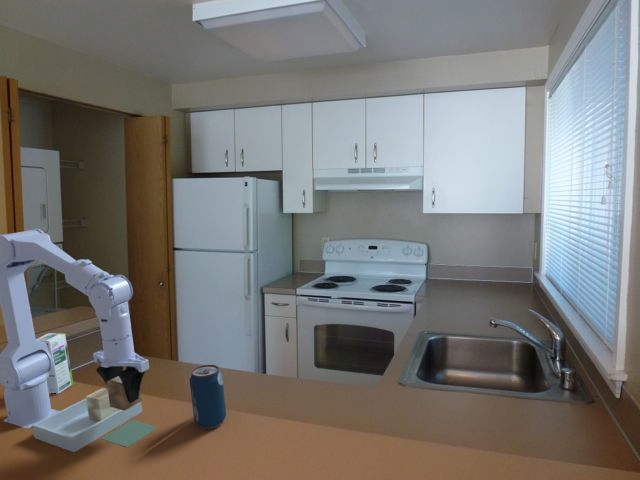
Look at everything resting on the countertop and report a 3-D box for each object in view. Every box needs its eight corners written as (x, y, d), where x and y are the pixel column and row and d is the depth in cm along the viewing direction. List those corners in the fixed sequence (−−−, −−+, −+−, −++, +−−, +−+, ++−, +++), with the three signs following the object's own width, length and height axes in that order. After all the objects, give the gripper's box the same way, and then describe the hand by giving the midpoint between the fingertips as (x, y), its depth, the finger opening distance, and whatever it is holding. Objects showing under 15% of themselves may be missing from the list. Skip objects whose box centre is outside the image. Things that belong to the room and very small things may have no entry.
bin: (34, 440, 104) (32, 425, 103) (104, 403, 119) (102, 389, 118) (74, 454, 97) (71, 438, 97) (142, 413, 112) (140, 399, 112)
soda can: (232, 415, 109) (227, 364, 107) (216, 432, 102) (210, 378, 100) (205, 412, 111) (200, 362, 109) (188, 428, 105) (181, 375, 103)
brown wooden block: (110, 406, 101) (106, 380, 100) (127, 397, 105) (124, 372, 104) (124, 410, 99) (120, 384, 98) (141, 400, 103) (138, 375, 102)
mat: (101, 441, 102) (101, 438, 102) (132, 422, 109) (132, 419, 109) (127, 449, 98) (127, 447, 98) (158, 429, 105) (158, 427, 105)
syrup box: (58, 394, 125) (50, 340, 123) (38, 393, 126) (30, 340, 124) (74, 384, 130) (66, 332, 128) (54, 383, 132) (46, 332, 129)
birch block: (89, 419, 110) (85, 396, 109) (106, 410, 114) (102, 387, 113) (102, 423, 108) (98, 399, 107) (118, 413, 112) (115, 391, 111)
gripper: (76, 338, 100) (85, 400, 102) (125, 347, 93) (134, 414, 95) (106, 327, 106) (114, 386, 108) (153, 335, 99) (161, 397, 101)
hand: (125, 398), depth 102 cm, fingers closed on brown wooden block, 4 cm apart
